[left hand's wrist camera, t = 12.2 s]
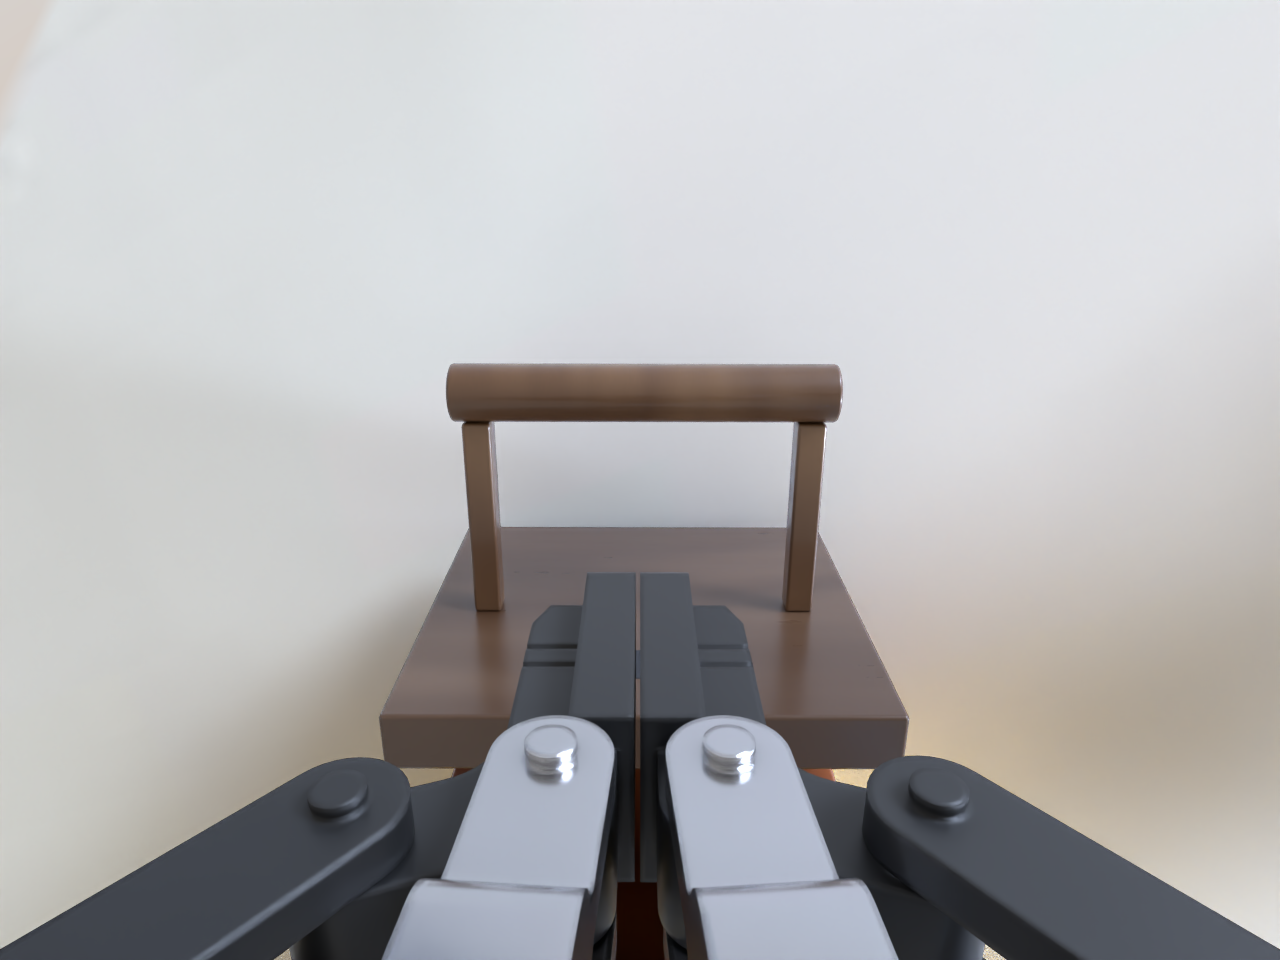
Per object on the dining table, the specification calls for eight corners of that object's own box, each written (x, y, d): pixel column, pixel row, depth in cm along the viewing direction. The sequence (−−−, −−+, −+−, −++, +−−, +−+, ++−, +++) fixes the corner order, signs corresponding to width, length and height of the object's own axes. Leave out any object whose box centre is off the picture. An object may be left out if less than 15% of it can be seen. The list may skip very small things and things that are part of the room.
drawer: (453, 325, 22) (339, 420, 13) (833, 326, 22) (951, 422, 13) (503, 1000, 30) (452, 1313, 22) (778, 1000, 30) (830, 1313, 22)
